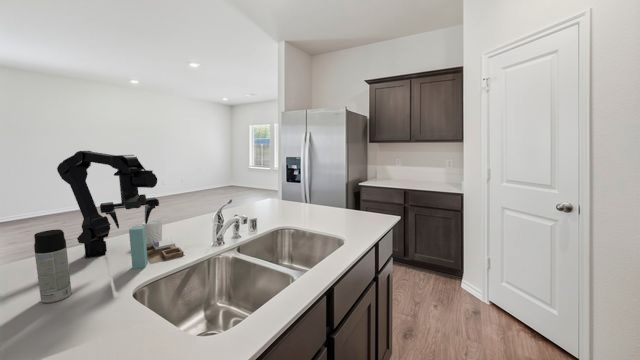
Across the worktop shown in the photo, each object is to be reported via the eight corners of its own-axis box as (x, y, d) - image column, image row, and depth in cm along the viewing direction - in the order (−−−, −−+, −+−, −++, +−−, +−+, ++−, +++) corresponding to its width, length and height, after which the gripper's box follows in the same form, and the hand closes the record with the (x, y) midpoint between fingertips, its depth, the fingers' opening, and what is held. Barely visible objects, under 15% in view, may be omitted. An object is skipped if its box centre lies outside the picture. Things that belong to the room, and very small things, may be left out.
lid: (155, 249, 112) (155, 243, 111) (152, 244, 117) (151, 238, 117) (175, 245, 116) (174, 239, 116) (170, 241, 122) (170, 235, 122)
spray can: (69, 289, 86) (62, 227, 84) (74, 296, 82) (66, 231, 79) (39, 298, 81) (30, 232, 79) (42, 306, 77) (33, 237, 74)
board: (150, 266, 102) (149, 260, 102) (142, 252, 116) (141, 246, 115) (185, 258, 110) (184, 252, 110) (173, 245, 124) (173, 240, 123)
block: (132, 270, 98) (128, 230, 96) (135, 266, 102) (132, 226, 100) (145, 268, 100) (142, 228, 98) (148, 264, 103) (144, 225, 101)
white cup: (148, 247, 122) (146, 225, 120) (140, 243, 126) (139, 222, 125) (166, 242, 128) (165, 221, 127) (159, 238, 133) (157, 218, 131)
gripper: (99, 192, 95) (104, 236, 97) (160, 187, 107) (163, 225, 109) (98, 188, 103) (102, 228, 105) (154, 184, 116) (157, 220, 118)
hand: (132, 225), depth 109 cm, fingers open, 9 cm apart
